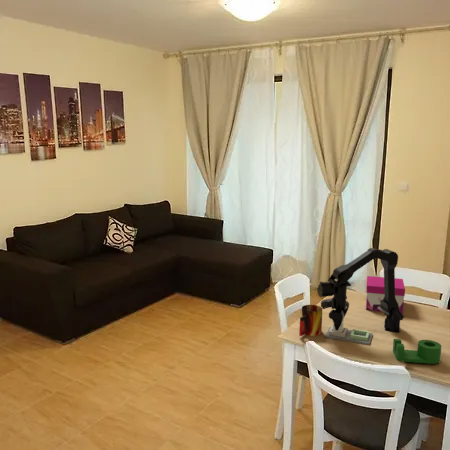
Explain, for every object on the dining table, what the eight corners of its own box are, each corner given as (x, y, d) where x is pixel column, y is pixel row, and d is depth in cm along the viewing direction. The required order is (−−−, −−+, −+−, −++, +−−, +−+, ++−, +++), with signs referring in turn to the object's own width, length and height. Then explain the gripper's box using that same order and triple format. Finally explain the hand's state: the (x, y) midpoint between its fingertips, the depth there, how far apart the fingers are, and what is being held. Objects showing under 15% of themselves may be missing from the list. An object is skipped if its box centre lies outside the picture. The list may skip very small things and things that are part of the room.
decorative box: (365, 312, 244) (366, 285, 241) (365, 301, 262) (367, 276, 259) (403, 316, 238) (405, 288, 235) (400, 304, 256) (402, 278, 253)
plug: (343, 332, 216) (343, 316, 214) (341, 335, 212) (342, 318, 211) (333, 330, 218) (334, 314, 216) (331, 333, 214) (332, 317, 213)
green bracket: (436, 354, 195) (437, 340, 194) (443, 364, 186) (444, 349, 185) (392, 351, 198) (393, 337, 197) (397, 361, 189) (398, 346, 188)
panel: (372, 335, 214) (372, 330, 214) (369, 345, 203) (369, 340, 203) (330, 328, 222) (330, 323, 222) (324, 337, 212) (325, 332, 211)
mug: (299, 338, 211) (299, 313, 209) (302, 327, 224) (302, 303, 222) (320, 340, 208) (321, 315, 206) (322, 329, 221) (322, 305, 219)
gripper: (326, 287, 223) (325, 317, 226) (318, 298, 207) (317, 331, 209) (350, 290, 219) (348, 320, 221) (343, 302, 202) (341, 335, 205)
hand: (338, 326), depth 214 cm, fingers open, 9 cm apart
